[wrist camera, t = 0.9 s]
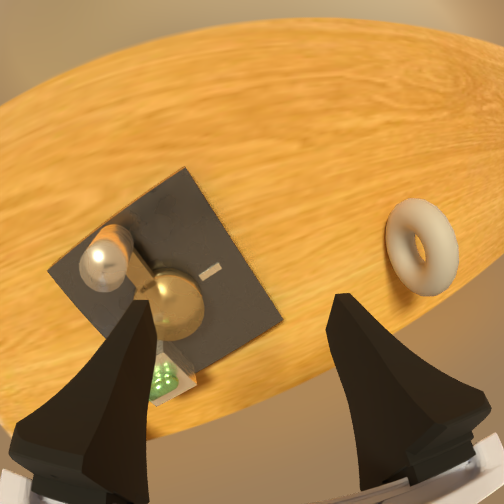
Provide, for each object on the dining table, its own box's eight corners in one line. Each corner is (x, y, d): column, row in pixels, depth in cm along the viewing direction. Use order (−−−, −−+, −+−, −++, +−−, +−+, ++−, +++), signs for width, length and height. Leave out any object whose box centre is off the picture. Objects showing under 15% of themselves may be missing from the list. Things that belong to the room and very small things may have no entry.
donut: (374, 193, 30) (445, 217, 21) (399, 186, 30) (469, 207, 21) (380, 277, 34) (438, 319, 25) (402, 268, 34) (460, 305, 25)
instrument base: (161, 382, 31) (163, 423, 25) (52, 264, 24) (28, 294, 18) (278, 311, 31) (301, 346, 26) (184, 166, 24) (188, 172, 19)
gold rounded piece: (214, 306, 28) (229, 353, 21) (161, 339, 27) (163, 391, 21) (137, 199, 23) (125, 221, 16) (81, 242, 23) (54, 276, 16)
